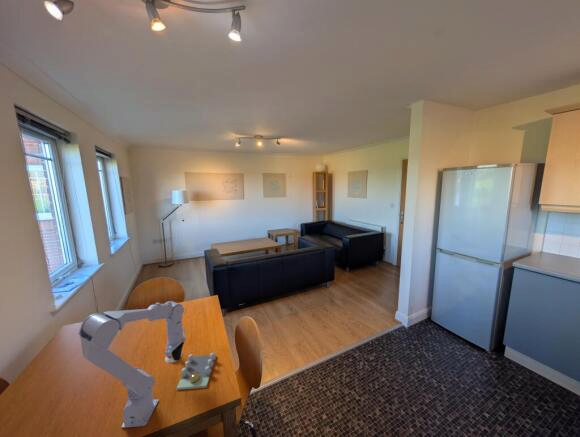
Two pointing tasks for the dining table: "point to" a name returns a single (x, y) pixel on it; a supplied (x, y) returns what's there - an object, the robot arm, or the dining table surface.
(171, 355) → the vr controller
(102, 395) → the dining table surface
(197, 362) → the board
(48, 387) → the dining table surface
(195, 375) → the brass metal puck
